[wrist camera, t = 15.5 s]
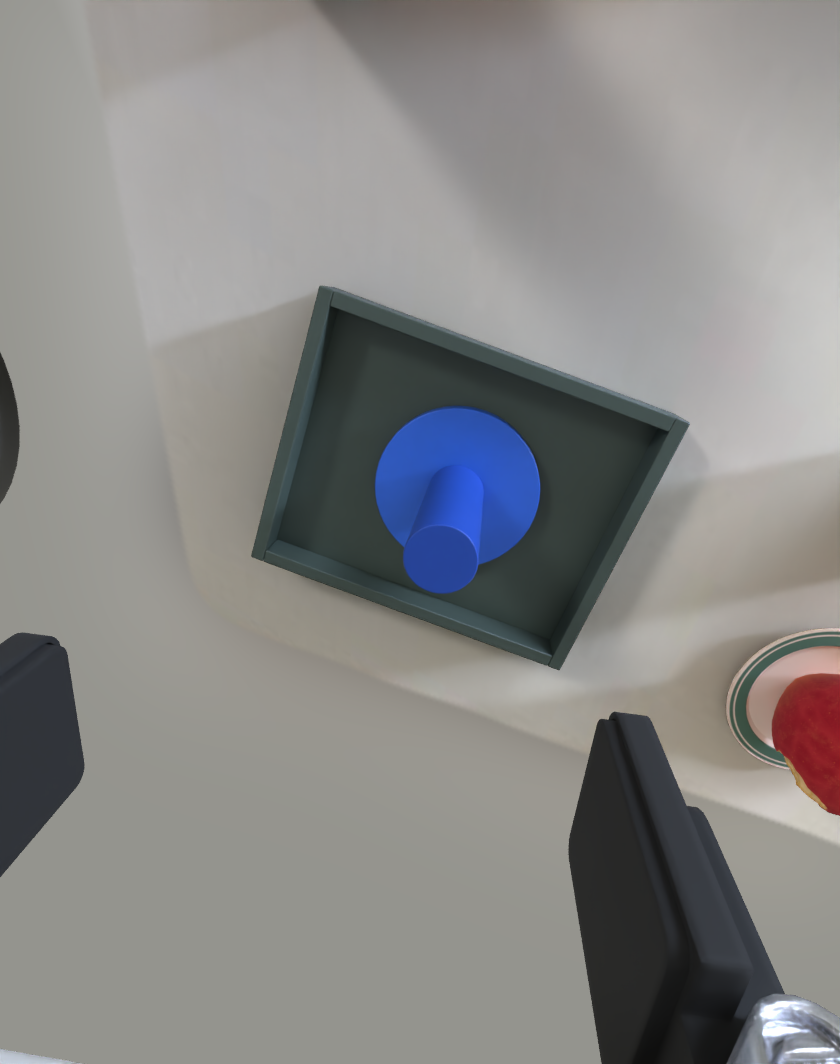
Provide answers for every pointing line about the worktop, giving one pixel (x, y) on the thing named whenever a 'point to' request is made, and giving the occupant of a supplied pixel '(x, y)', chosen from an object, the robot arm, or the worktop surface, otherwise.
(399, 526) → the blue disc with rod
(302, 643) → the worktop surface
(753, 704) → the bitten apple on plate
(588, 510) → the tray
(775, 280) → the worktop surface
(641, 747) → the robot arm
